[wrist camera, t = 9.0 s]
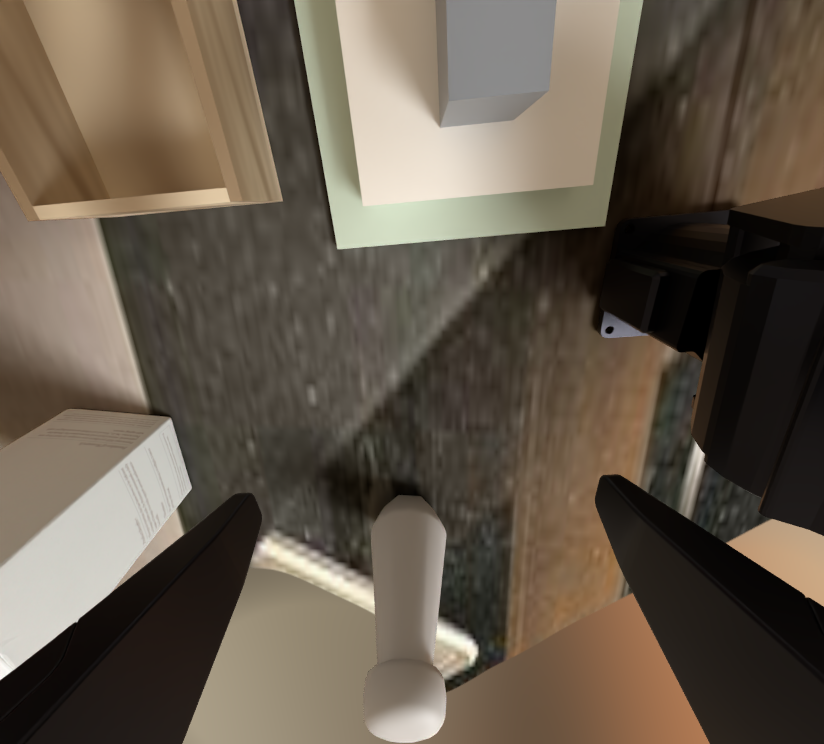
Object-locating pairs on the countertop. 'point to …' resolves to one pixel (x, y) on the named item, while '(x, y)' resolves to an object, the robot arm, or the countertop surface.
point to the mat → (450, 214)
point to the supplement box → (78, 517)
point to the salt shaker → (406, 623)
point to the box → (129, 108)
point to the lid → (475, 94)
